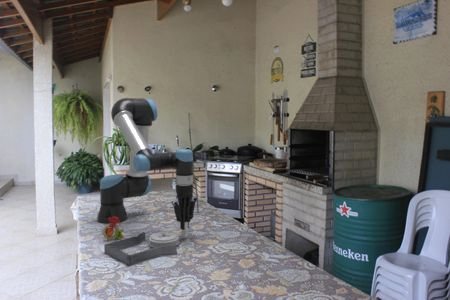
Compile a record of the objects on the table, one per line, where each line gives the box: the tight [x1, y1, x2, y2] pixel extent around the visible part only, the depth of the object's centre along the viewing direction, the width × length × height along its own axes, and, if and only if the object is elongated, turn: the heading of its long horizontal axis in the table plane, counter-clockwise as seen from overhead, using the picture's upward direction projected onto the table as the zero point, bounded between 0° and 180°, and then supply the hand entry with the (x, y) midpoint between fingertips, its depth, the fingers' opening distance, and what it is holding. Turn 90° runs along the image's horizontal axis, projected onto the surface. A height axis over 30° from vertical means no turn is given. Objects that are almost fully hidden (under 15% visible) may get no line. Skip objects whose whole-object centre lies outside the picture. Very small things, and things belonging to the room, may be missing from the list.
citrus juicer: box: [179, 162, 200, 213], centre depth 210 cm, size 11×10×30 cm
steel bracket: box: [104, 231, 178, 267], centre depth 153 cm, size 24×21×4 cm
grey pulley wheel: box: [148, 231, 180, 248], centre depth 162 cm, size 13×13×5 cm
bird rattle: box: [102, 216, 124, 242], centre depth 168 cm, size 6×11×9 cm
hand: (184, 235), depth 170 cm, fingers closed
